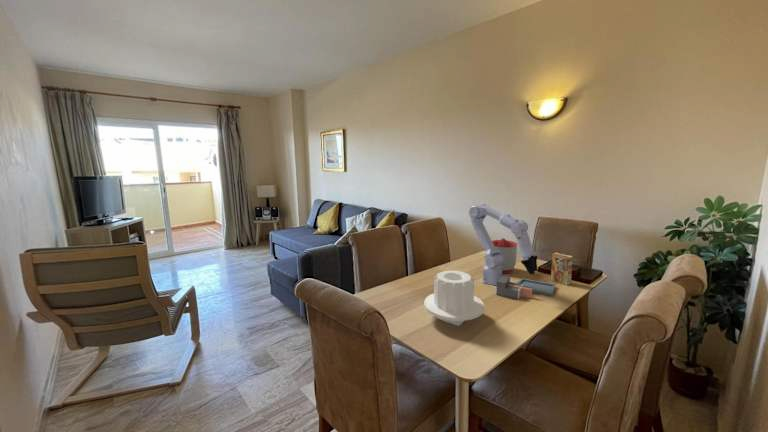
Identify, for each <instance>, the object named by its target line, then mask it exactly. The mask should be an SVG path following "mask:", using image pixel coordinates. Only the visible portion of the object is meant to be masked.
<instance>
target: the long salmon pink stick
mask: <svg viewBox="0 0 768 432" xmlns="http://www.w3.org/2000/svg"><path fill="white" fill-rule="evenodd" d="M508 286H510V287H516V288H521V295H520V297H523V298H527V299H533V292H532V289H530V288H525V287H520V286H514V285H509V284H508Z"/></svg>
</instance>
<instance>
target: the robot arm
mask: <svg viewBox="0 0 768 432" xmlns="http://www.w3.org/2000/svg"><path fill="white" fill-rule="evenodd" d="M468 215H469V216H470V220H471V225H472V226H473V229H474V231H475V233H476V235H477V237H478V239H479V242H480V244H481V245H482V247H483V249H484V252H485V253H484V256H483V258H484V263H485V265H484V267H483V270H482V284H487V285H492V286H497V281H498V279H499V278H500V277H501V276H502V275H503V273H502V267H503V264H504V263H505V257H504V256H503V255H502V254H501V252H500V251H499V250H498V249H496V248H495V247H494V245H493V243H492V241H493V240H492V239H491V237H490V235H489V233H488V230H487V228H486V227H485V225H484V220H485V219H486V217H488V216H489V217H490V218H493V219H495V220H496V221H499V224H500V225H502V226H504V227H505V228H508V229H509V230H510V231H511V233H512V234H514V237H515V239H516V243H517V246H518V249H519V251H520V254H521V255H520V257H521V258H522V259H523V260H521V261H520V262H521V264H522V265H523V266H524V267H525V269H526V271H527V272H528V274H529V275H535V273H536V272H538V255H537V254H538V253H537V251H536V252H535V251H534V248H533V245H532V242H531V239H530V237H529V232H528V229H529V224H528V223H527V222H526V221H525V220H519V219H518V218H514V217H512V216H511V214H509V213H508V214H502V213H500V212H498V211H497V210H495V209H493V208H491V206H490V205H487V204H486V203H483V204H477V205H471V206H470V208H469V211H468ZM492 255H493V256H492Z"/></svg>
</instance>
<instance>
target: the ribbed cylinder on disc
mask: <svg viewBox="0 0 768 432" xmlns="http://www.w3.org/2000/svg"><path fill="white" fill-rule="evenodd" d="M433 288H434V289H433V293H431V294H429V295H428V296H427V297H425V299H424V303H423V305H424V306H423V307H424V309H425V311H426V312H428V313H429V314H430V315H432V316H434V317H436V318H437V319H438V320H439V321H442V322H446V323H448V324H451V325H455V326H457V327H459V326H461V325H462V324H463V323H464V322H465V321H470V320H474V319H477V318H479V317H481V316H482V315H483V313H484V311H485V304H484V302H483V301H482V299H480V298H479V297H477V296H476V295H475V279H474V277H473V276H472V275H471V274H470V273H467V272H463V271H461V270H454V269H453V270H443V271H441V272H437V273H436V275H435V276H434V277H433Z"/></svg>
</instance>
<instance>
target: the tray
mask: <svg viewBox="0 0 768 432" xmlns="http://www.w3.org/2000/svg"><path fill="white" fill-rule="evenodd" d="M517 283H518V284H523V287H525V288H530V289H532V294H533V293H534V294H538V295H543V296H548V297H553V295H554V292H555V290H556V285H557V284H555V283H551V282H546V281H545V282H544V281H539V280H534V279H533V280H532V279H527V278H523V277H522V278H520V279H519V280H518V282H517Z"/></svg>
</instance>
